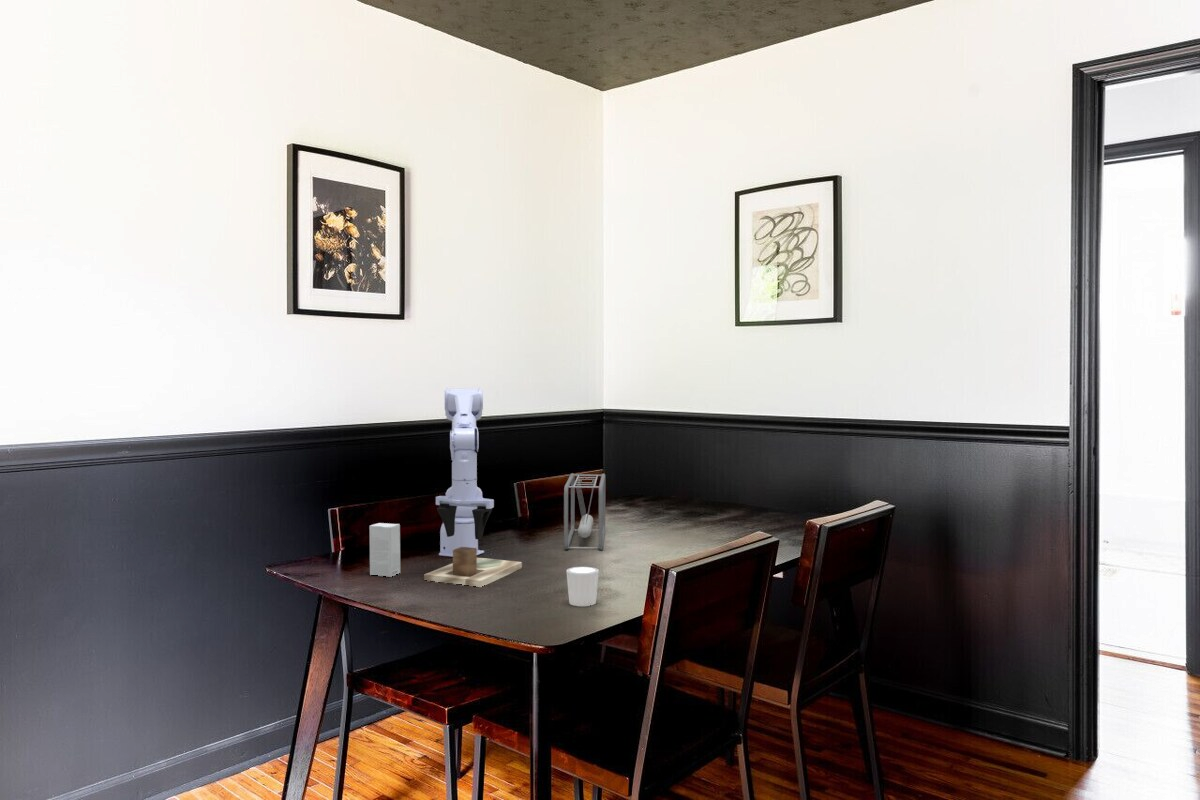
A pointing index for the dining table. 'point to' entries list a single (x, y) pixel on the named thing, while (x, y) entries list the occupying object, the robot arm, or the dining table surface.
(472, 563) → the block
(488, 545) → the dining table surface
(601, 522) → the newton's cradle
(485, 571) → the board
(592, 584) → the shot glass
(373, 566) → the skincare box
